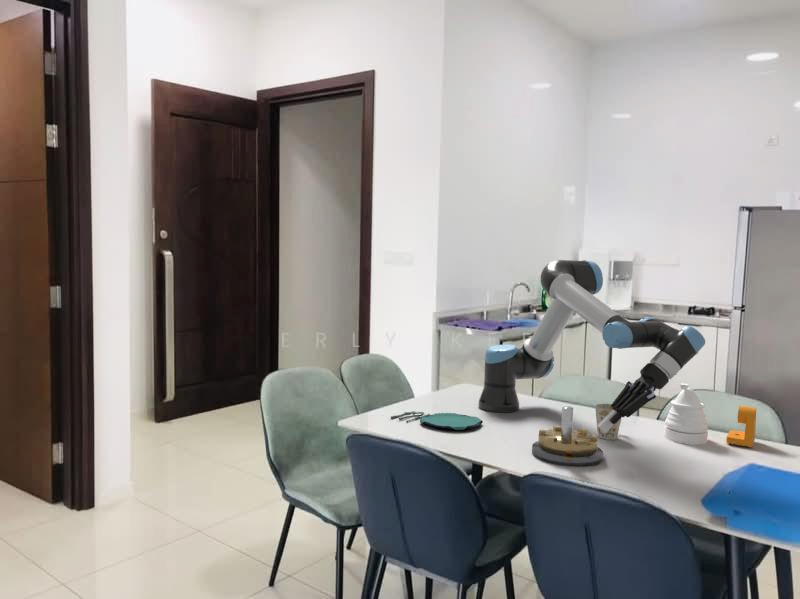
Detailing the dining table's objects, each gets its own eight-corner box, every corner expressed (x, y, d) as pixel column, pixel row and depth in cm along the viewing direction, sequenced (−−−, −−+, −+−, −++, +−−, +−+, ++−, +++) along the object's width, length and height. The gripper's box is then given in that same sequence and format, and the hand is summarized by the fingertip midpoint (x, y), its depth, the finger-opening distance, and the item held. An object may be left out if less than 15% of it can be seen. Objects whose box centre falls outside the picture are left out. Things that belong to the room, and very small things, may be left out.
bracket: (729, 437, 219) (732, 401, 218) (754, 441, 215) (757, 405, 214) (725, 445, 210) (728, 407, 209) (751, 449, 206) (754, 411, 205)
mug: (589, 436, 215) (590, 406, 214) (606, 430, 224) (608, 400, 223) (613, 442, 209) (615, 411, 208) (630, 435, 218) (632, 405, 217)
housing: (523, 459, 189) (524, 451, 188) (541, 441, 207) (541, 434, 207) (596, 471, 180) (597, 463, 180) (607, 452, 198) (608, 444, 198)
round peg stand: (528, 440, 199) (530, 397, 198) (577, 437, 204) (579, 395, 203) (556, 457, 183) (558, 410, 182) (609, 454, 188) (611, 408, 187)
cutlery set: (462, 436, 211) (462, 429, 211) (385, 421, 228) (385, 415, 228) (491, 425, 227) (491, 418, 227) (417, 412, 244) (418, 405, 244)
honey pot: (686, 446, 207) (689, 389, 206) (655, 435, 219) (658, 381, 218) (716, 442, 213) (720, 386, 211) (684, 432, 224) (687, 379, 223)
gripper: (680, 385, 184) (620, 445, 182) (655, 376, 197) (598, 432, 195) (663, 365, 183) (603, 426, 181) (639, 358, 195) (582, 414, 194)
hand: (601, 429), depth 188 cm, fingers closed
